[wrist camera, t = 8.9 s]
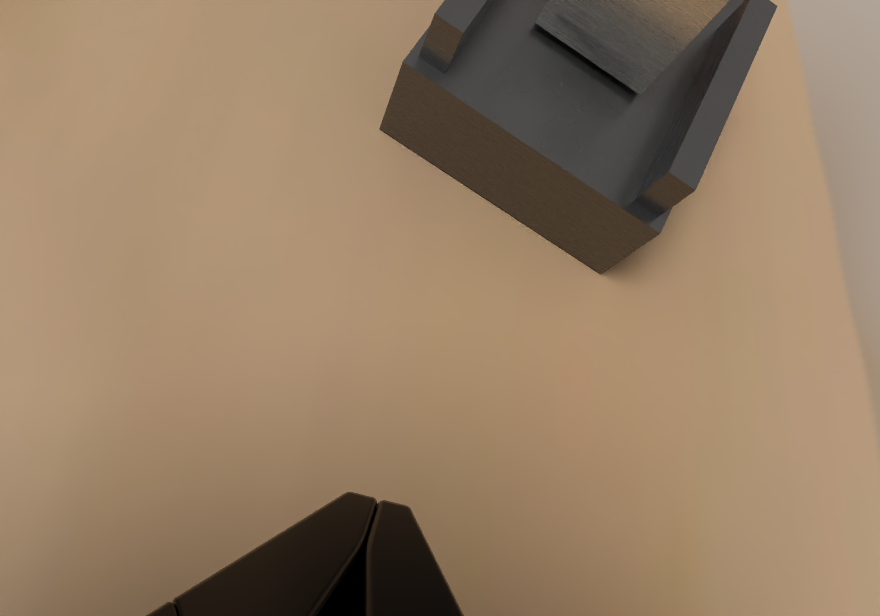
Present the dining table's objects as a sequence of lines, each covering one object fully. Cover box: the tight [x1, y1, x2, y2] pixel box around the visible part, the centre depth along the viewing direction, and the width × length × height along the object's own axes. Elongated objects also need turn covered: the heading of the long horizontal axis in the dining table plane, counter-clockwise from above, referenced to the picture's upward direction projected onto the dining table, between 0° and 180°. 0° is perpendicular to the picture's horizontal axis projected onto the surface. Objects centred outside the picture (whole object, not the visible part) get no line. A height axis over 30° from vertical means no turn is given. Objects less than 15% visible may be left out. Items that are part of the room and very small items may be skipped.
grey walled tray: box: [380, 0, 777, 274], centre depth 25 cm, size 13×10×6 cm
